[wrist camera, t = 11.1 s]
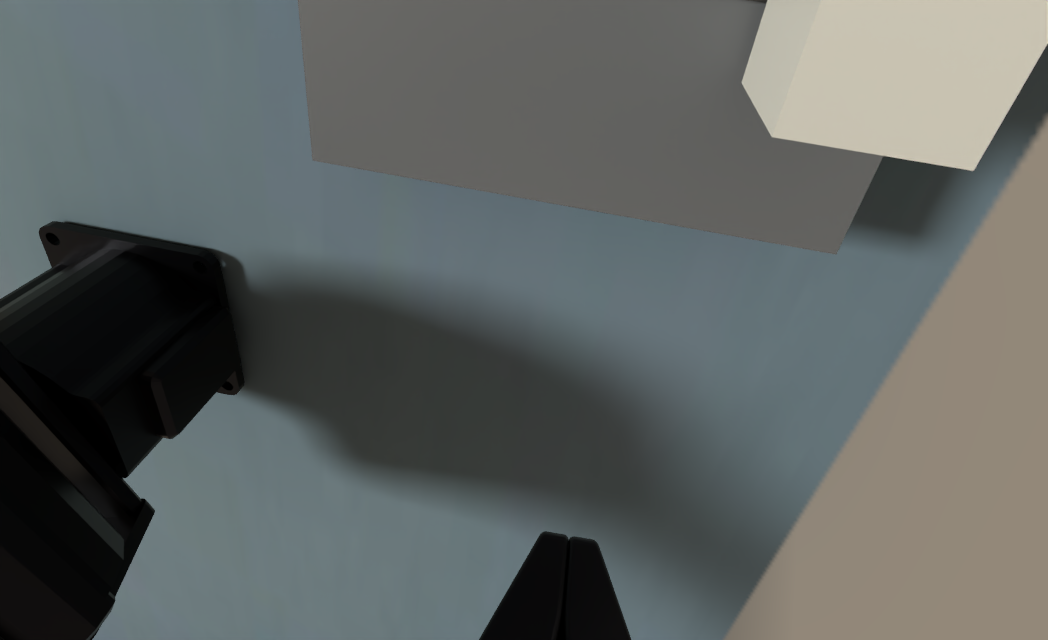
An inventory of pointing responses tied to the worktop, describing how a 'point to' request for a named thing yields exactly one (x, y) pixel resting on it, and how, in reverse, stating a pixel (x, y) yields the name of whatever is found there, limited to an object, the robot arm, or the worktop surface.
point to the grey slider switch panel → (574, 110)
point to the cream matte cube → (894, 73)
